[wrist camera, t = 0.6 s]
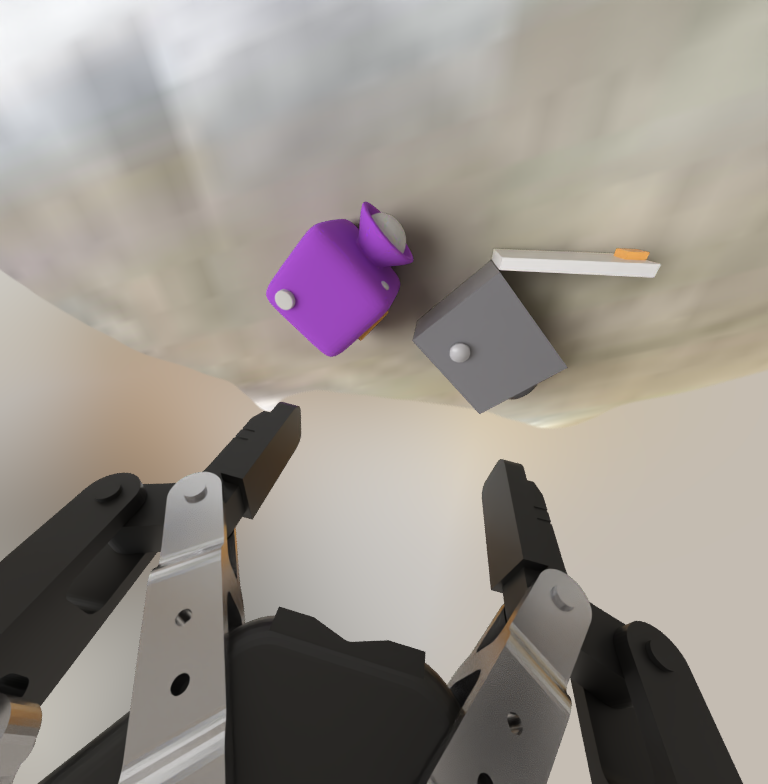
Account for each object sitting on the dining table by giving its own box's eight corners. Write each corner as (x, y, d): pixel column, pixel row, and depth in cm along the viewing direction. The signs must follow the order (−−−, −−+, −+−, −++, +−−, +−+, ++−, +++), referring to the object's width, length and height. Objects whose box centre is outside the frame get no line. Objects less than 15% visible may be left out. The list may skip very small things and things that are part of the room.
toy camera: (435, 244, 29) (431, 261, 21) (366, 339, 37) (343, 378, 29) (349, 171, 27) (308, 158, 19) (295, 287, 35) (248, 313, 27)
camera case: (490, 259, 29) (500, 273, 24) (554, 350, 33) (575, 378, 28) (417, 320, 34) (411, 343, 29) (480, 392, 38) (486, 423, 33)
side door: (495, 241, 28) (504, 249, 23) (628, 246, 26) (665, 255, 22) (491, 259, 29) (499, 269, 24) (620, 265, 27) (654, 277, 23)
